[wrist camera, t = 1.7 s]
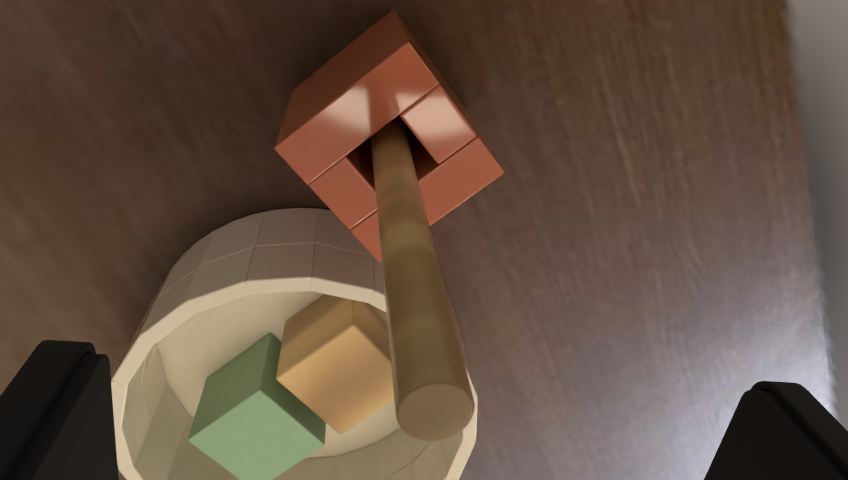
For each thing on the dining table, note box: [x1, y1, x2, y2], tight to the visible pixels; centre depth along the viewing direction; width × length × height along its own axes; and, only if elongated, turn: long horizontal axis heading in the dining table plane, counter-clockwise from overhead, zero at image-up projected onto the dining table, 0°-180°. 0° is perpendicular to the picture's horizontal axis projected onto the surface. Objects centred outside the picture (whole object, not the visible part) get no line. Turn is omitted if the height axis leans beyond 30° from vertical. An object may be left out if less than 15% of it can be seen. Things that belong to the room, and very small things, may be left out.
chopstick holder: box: [274, 9, 504, 262], centre depth 22 cm, size 5×5×7 cm
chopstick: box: [370, 114, 475, 441], centre depth 18 cm, size 1×1×18 cm
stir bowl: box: [111, 208, 478, 480], centre depth 28 cm, size 14×14×6 cm
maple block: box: [276, 294, 394, 434], centre depth 27 cm, size 4×4×4 cm
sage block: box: [188, 333, 326, 480], centre depth 28 cm, size 4×4×4 cm
